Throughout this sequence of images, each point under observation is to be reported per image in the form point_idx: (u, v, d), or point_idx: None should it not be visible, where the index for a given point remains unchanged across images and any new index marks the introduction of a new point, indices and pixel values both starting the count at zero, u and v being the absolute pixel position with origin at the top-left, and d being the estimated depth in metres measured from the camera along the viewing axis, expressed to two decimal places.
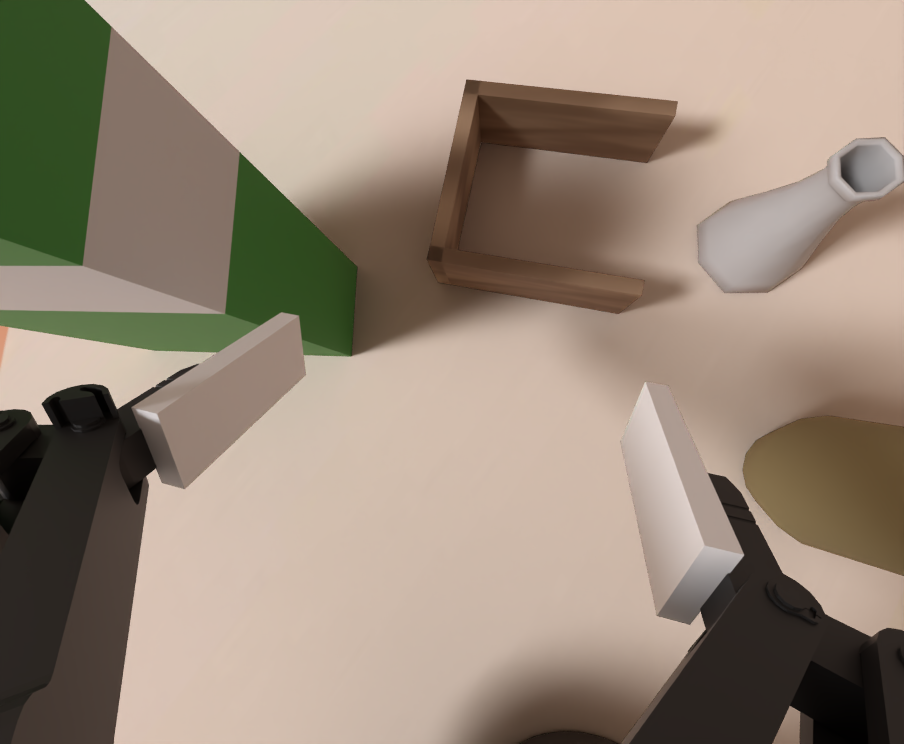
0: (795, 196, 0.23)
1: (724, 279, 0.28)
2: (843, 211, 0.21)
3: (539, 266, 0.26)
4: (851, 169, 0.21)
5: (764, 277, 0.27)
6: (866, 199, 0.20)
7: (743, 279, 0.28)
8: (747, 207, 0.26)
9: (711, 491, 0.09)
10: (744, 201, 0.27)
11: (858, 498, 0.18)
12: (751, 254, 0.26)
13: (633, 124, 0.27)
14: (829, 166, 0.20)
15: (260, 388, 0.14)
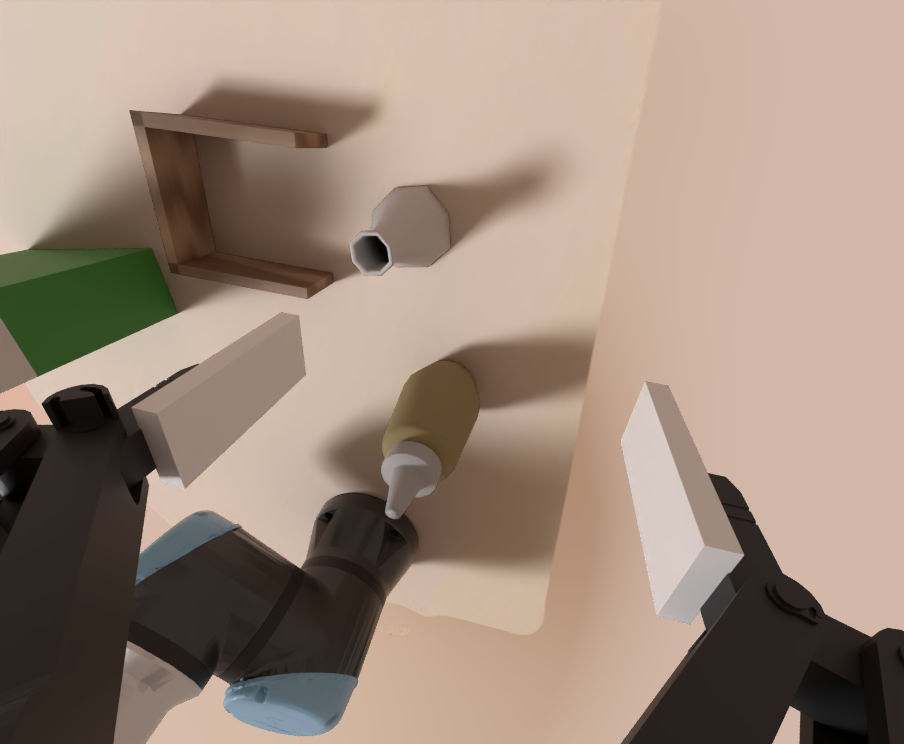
0: None
1: None
2: None
3: (240, 278, 0.37)
4: (388, 233, 0.29)
5: None
6: None
7: (398, 265, 0.36)
8: (371, 224, 0.33)
9: (711, 491, 0.09)
10: (384, 206, 0.33)
11: None
12: (386, 257, 0.34)
13: None
14: None
15: (260, 388, 0.14)
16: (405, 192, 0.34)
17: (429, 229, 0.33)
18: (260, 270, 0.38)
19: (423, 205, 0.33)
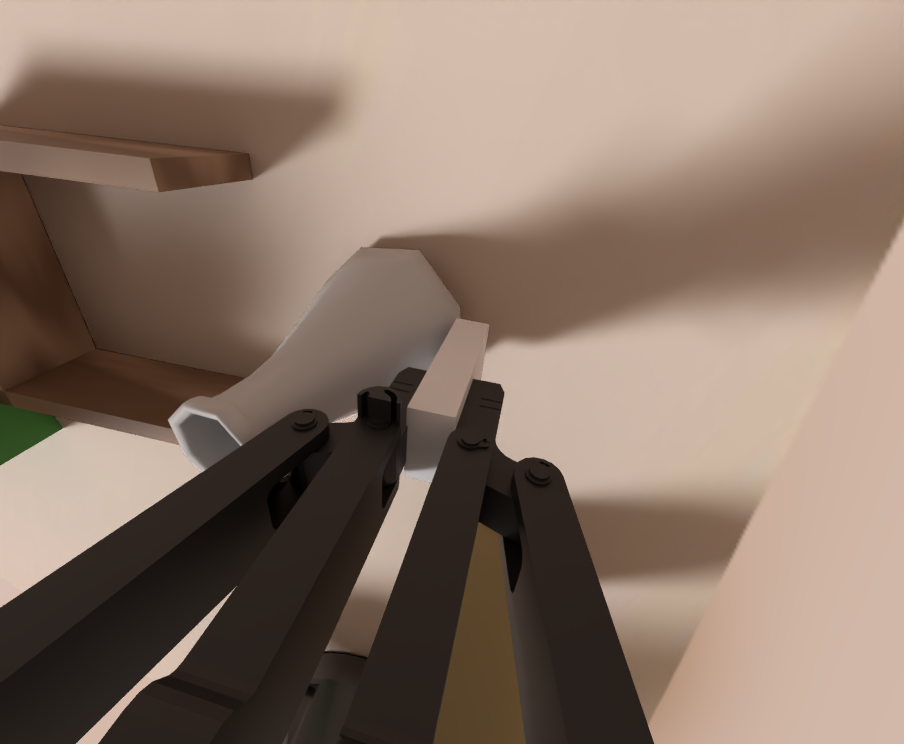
0: None
1: None
2: None
3: (111, 417, 0.20)
4: (276, 390, 0.12)
5: None
6: None
7: None
8: (295, 327, 0.16)
9: (464, 384, 0.12)
10: (327, 288, 0.16)
11: None
12: None
13: None
14: None
15: None
16: (373, 262, 0.16)
17: (410, 348, 0.15)
18: (155, 393, 0.22)
19: (402, 296, 0.15)
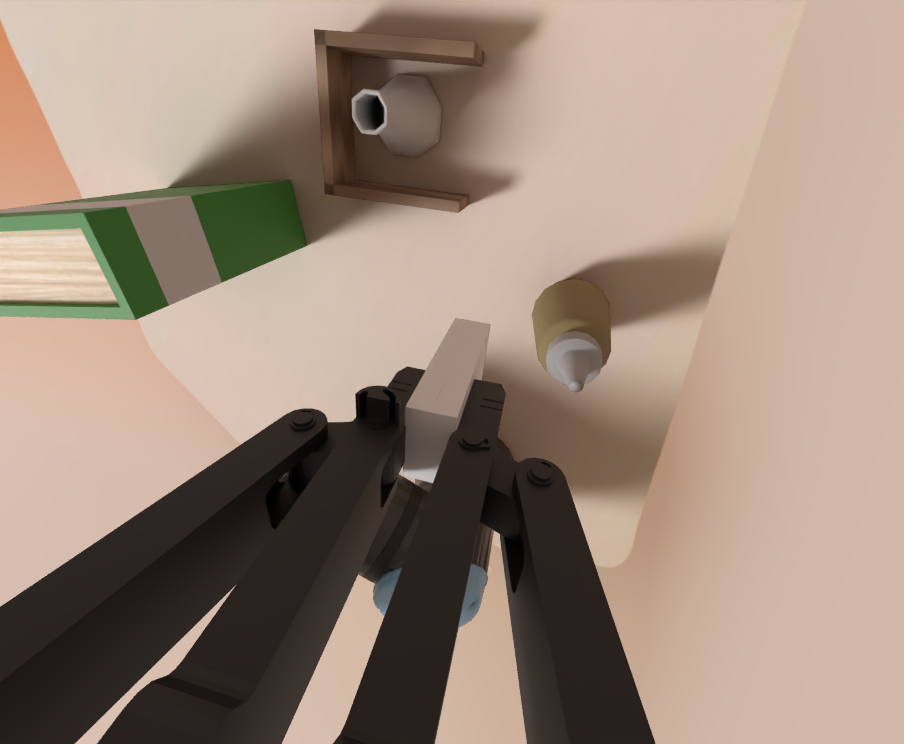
0: None
1: None
2: (382, 131, 0.34)
3: (394, 195, 0.39)
4: (387, 99, 0.33)
5: (401, 150, 0.40)
6: None
7: (391, 149, 0.41)
8: None
9: (465, 385, 0.12)
10: (386, 86, 0.37)
11: (535, 337, 0.38)
12: None
13: (449, 57, 0.34)
14: None
15: None
16: (407, 78, 0.38)
17: (423, 114, 0.37)
18: (406, 191, 0.41)
19: (421, 91, 0.37)
